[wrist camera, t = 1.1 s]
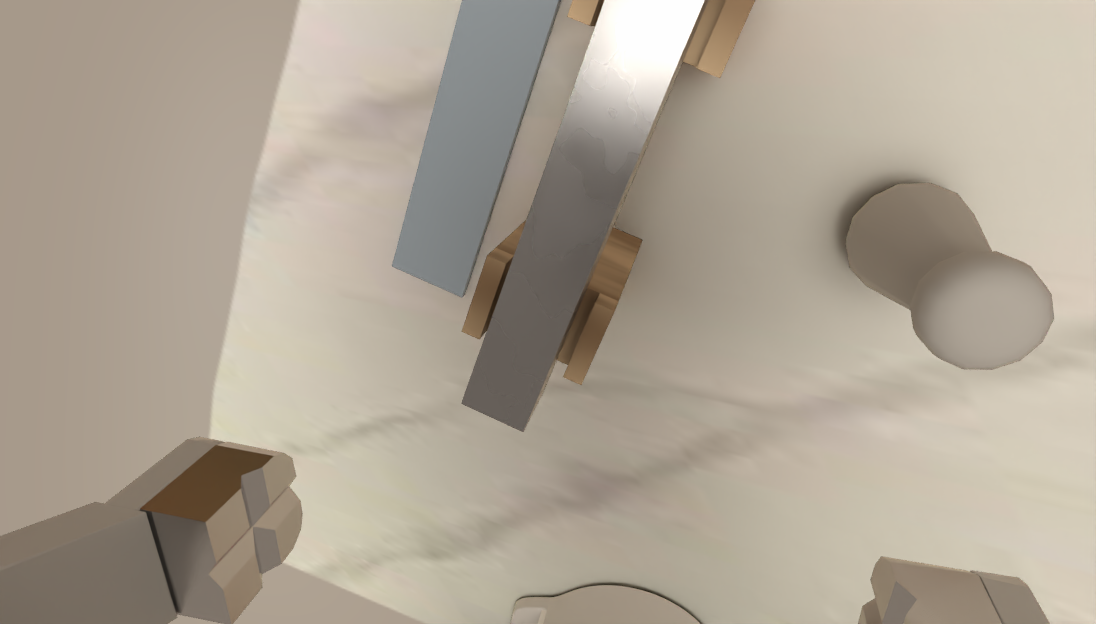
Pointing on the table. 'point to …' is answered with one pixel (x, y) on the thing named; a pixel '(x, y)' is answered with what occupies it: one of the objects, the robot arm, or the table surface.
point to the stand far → (592, 308)
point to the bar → (580, 198)
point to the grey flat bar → (471, 136)
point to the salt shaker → (948, 277)
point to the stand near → (710, 38)
